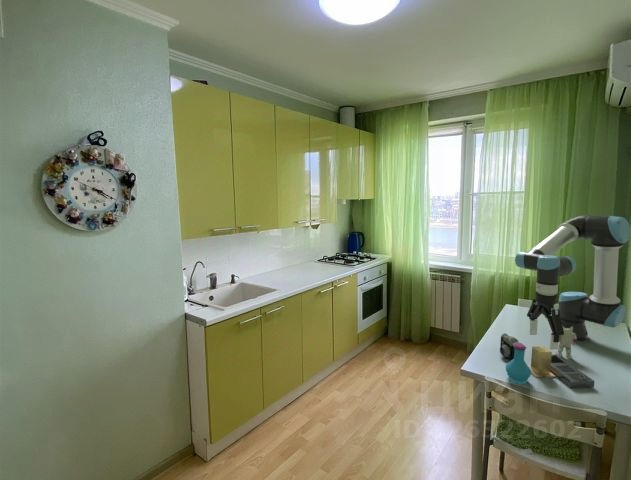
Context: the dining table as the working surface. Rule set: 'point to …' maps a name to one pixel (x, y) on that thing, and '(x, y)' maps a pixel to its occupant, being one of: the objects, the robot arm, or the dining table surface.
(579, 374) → the grey slotted tray
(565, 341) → the figurine
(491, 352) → the dining table surface
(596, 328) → the dining table surface
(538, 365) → the block
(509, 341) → the camera
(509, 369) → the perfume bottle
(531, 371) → the cork mat
